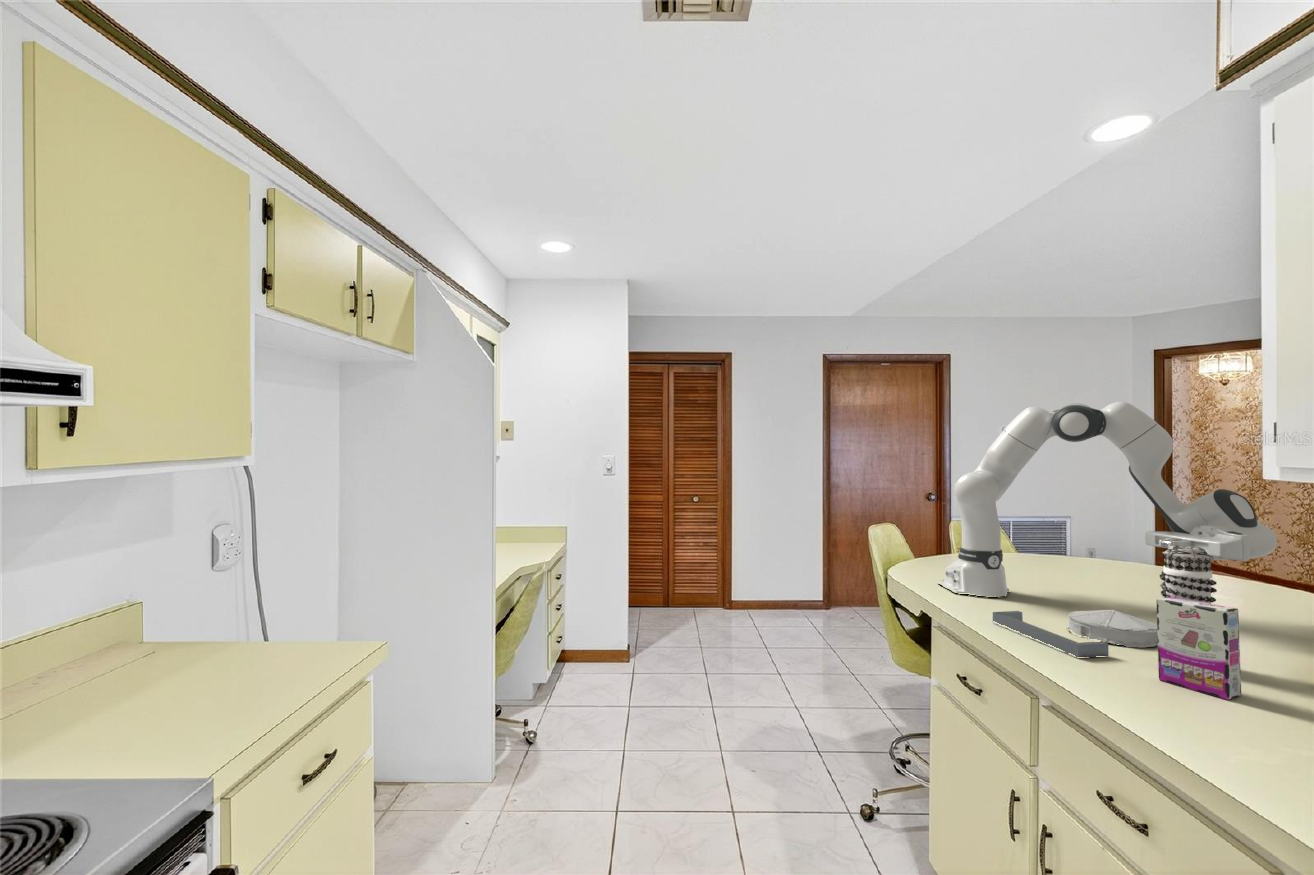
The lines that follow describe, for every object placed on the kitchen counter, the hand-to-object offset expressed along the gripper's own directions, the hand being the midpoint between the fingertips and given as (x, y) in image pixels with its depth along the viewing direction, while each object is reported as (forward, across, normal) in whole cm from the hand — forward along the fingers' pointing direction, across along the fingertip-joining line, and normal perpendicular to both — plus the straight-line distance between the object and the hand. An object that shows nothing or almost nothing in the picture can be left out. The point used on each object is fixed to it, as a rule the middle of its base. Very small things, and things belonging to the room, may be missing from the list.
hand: (1164, 544), depth 150 cm
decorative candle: (+17, +20, +22) cm, 34 cm away
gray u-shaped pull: (+33, 0, +22) cm, 40 cm away
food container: (+15, 0, +23) cm, 27 cm away
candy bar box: (+28, +31, +22) cm, 47 cm away
